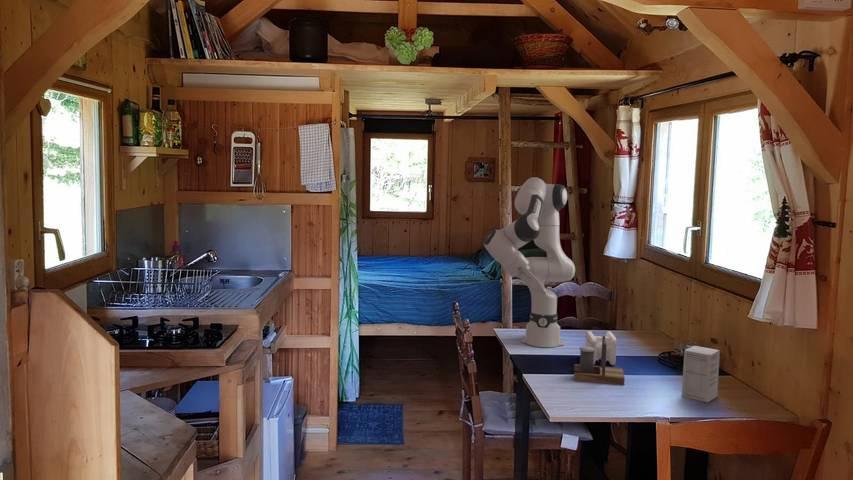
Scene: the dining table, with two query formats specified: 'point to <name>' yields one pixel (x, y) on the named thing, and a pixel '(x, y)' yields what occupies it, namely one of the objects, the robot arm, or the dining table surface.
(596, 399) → the dining table surface
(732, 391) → the dining table surface
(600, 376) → the wooden frame
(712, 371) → the supplement box
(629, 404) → the dining table surface
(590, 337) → the cable organizer
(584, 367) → the grey mushroom bollard
